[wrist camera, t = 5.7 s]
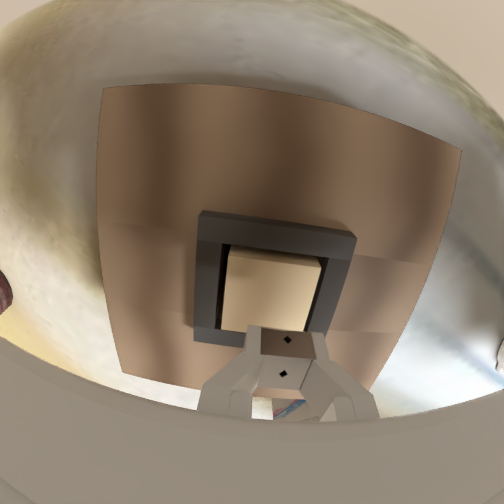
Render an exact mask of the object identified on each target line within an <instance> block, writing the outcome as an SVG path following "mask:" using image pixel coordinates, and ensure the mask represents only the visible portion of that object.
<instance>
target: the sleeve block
mask: <svg viewBox="0 0 504 504" xmlns="http://www.w3.org/2000/svg"><path fill="white" fill-rule="evenodd" d="M461 152H462V150H460V149H459V148H457V147H455V146H452V145H450V144H448V143H446V142H444V141H442V140H440V139H438V138H435V137H433V136H431V135H429V134H426V133H424V132H421V131H419V130H417V129H414V128H412V127H409V126H406V125H404V124H401V123H398V122H396V121H393V120H390V119H387V118H384V117H381V116H378V115H375V114H372V113H369V112H366V111H362V110H359V109H356V108H352V107H348V106H345V105H341V104H337V103H333V102H329V101H325V100H320V99H316V98H311V97H306V96H301V95H296V94H291V93H285V92H279V91H272V90H265V89H257V88H249V87H239V86H228V85H212V84H145V85H131V86H120V87H110V88H103V94H102V101H101V109H100V118H99V129H98V142H97V162H96V207H97V227H98V241H99V252H100V261H101V270H102V277H103V284H104V291H105V297H106V303H107V308H108V314H109V319H110V324H111V329H112V333H113V338H114V342H115V346H116V350H117V354H118V358H119V362H120V365H121V369H122V372H123V373H126V374H130V375H134V376H137V377H141V378H145V379H149V380H154V381H158V382H162V383H167V384H172V385H177V386H182V387H187V388H193V389H198V390H202V385H203V384H204V383H205V382H206V381H207V380H209V379H210V378H211V377H212V376H213V375H215V374H216V373H217V372H218V371H220V370H221V369H222V368H223V367H224V366H226V365H227V364H228V363H229V362H230V361H232V360H233V359H234V358H235V357H236V356H238V355H239V354H240V353H241V352H243V347H244V342H245V336H246V333H244V332H236V331H229V330H222V329H221V325H222V314H223V304H224V294H225V284H226V274H227V265H228V256H229V252H230V248H231V245H239V246H246V247H254V248H261V249H269V250H276V251H283V252H291V253H298V254H306V255H313V256H316V257H317V259H318V262H319V264H320V266H321V271H320V275H319V278H318V282H317V286H316V289H315V293H314V296H313V300H312V303H311V306H310V310H309V313H308V317H307V320H306V323H305V326H304V329H303V331H305V332H322V333H323V334H324V338H325V342H326V345H327V349H328V353H329V357H330V360H332V361H335V362H336V363H337V364H338V365H339V366H340V367H342V368H343V369H344V370H345V371H346V372H347V373H348V374H349V375H351V376H352V377H353V378H354V379H355V380H356V381H357V382H359V383H360V384H361V385H362V386H363V387H364V388H365V389H367V390H368V391H369V389H370V388H371V386H372V384H373V383H374V381H375V380H376V378H377V376H378V375H379V373H380V372H381V370H382V368H383V367H384V365H385V363H386V362H387V360H388V358H389V356H390V355H391V353H392V351H393V349H394V347H395V345H396V344H397V342H398V340H399V338H400V336H401V334H402V332H403V330H404V328H405V326H406V324H407V322H408V320H409V318H410V316H411V314H412V312H413V310H414V307H415V305H416V303H417V301H418V299H419V296H420V294H421V292H422V289H423V287H424V284H425V282H426V279H427V277H428V274H429V272H430V269H431V266H432V264H433V261H434V258H435V255H436V253H437V250H438V247H439V244H440V241H441V238H442V234H443V231H444V228H445V224H446V221H447V217H448V214H449V210H450V206H451V202H452V198H453V194H454V189H455V185H456V180H457V175H458V170H459V164H460V159H461ZM299 391H300V390H288V389H278V388H263V387H257V388H256V389H255V390H254V392H253V393H252V394H251V395H252V397H264V398H280V399H304V397H303V396H302V394H301V393H300V392H299Z"/></svg>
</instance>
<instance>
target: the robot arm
mask: <svg viewBox="0 0 504 504" xmlns="http://www.w3.org/2000/svg"><path fill="white" fill-rule="evenodd" d="M497 359H498V365H497V368H496V370H497V371H498V373H500V372H502V371H504V340H503V342H502V344H501V347H500V349H499V352H498V356H497ZM257 387H263V388H278V389H288V390H300V391H299V392H300V393H301V394H302V396H303V397H304V399H305V400H306V401H307V403H308V404H309V405H310V407H311V408H312V409H313V410H314V412H315V413H316V414H317V416H318V417H319V418H320V421H319V422H304V421H278V420H264V419H252V418H251V416H252V395H251V394H252V393H253V392H254V390H255V389H256V388H257ZM0 504H504V389H502V390H500V391H497V392H494V393H491V394H488V395H485V396H482V397H479V398H476V399H473V400H469V401H466V402H462V403H459V404H455V405H451V406H447V407H443V408H438V409H434V410H429V411H424V412H418V413H413V414H406V415H400V416H393V417H385V418H380V416H379V413H378V409H377V406H376V403H375V400H374V397H373V395H372V394H371V393H370V392H369V391H368V390H367V389H365V388H364V387H363V386H362V385H361V384H360V383H359V382H357V381H356V380H355V379H354V378H353V377H352V376H351V375H349V374H348V373H347V372H346V371H345V370H344V369H343V368H342V367H340V366H339V365H338V364H337V363H336V362H335V361H332V360H330V357H329V353H328V349H327V345H326V342H325V338H324V334H323V333H322V332H305V331H294V330H286V329H278V328H271V327H264V326H257V325H250V324H248V326H247V331H246V336H245V342H244V347H243V352H241V353H240V354H239V355H238V356H236V357H235V358H234V359H233V360H232V361H230V362H229V363H228V364H227V365H226V366H224V367H223V368H222V369H221V370H220V371H218V372H217V373H216V374H215V375H213V376H212V377H211V378H210V379H209V380H207V381H206V382H205V383H204V384H203V385H202V390H201V394H200V398H199V403H198V407H197V410H192V409H187V408H182V407H177V406H173V405H168V404H164V403H160V402H156V401H152V400H149V399H145V398H141V397H138V396H135V395H131V394H128V393H125V392H122V391H119V390H116V389H113V388H110V387H107V386H104V385H101V384H98V383H96V382H93V381H90V380H88V379H85V378H83V377H80V376H78V375H75V374H73V373H71V372H68V371H66V370H64V369H62V368H59V367H57V366H55V365H53V364H51V363H49V362H47V361H44V360H42V359H40V358H38V357H37V356H35V355H33V354H31V353H29V352H27V351H25V350H23V349H22V348H20V347H18V346H16V345H15V344H13V343H11V342H10V341H8V340H7V339H5V338H3V337H0Z"/></svg>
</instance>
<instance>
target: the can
mask: <svg viewBox="0 0 504 504" xmlns="http://www.w3.org/2000/svg"><path fill="white" fill-rule="evenodd" d="M12 299H13V294H12V290H11V287H10V285H9V282H8V281H7V279H6V277H5V276H4V275H3V274H2V273H1V272H0V315H1V314H2V313H3V312H4V311H5V310H6V309H7V308H8V307H9V306H10V305H11V304H12Z"/></svg>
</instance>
